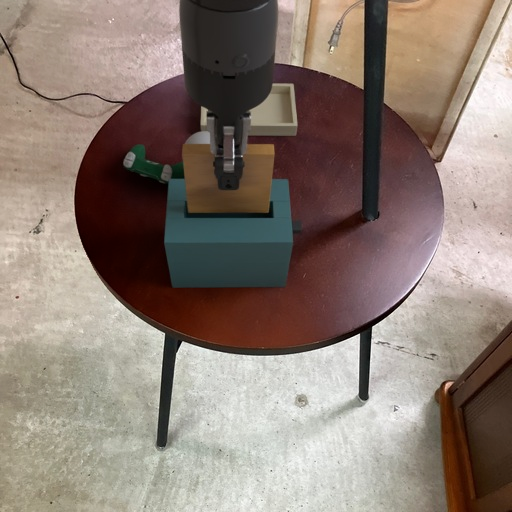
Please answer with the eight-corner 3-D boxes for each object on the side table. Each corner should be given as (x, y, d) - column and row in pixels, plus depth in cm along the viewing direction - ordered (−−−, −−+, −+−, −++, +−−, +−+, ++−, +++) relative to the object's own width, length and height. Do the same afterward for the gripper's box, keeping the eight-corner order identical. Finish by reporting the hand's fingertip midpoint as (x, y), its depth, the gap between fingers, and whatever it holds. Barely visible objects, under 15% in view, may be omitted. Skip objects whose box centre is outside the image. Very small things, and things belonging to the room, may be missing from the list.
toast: (188, 213, 61) (182, 153, 53) (188, 203, 62) (182, 143, 54) (268, 212, 62) (274, 154, 54) (267, 203, 63) (273, 143, 55)
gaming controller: (133, 168, 80) (112, 169, 74) (139, 142, 79) (119, 142, 74) (190, 188, 79) (174, 190, 73) (197, 162, 78) (181, 163, 72)
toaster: (172, 287, 68) (164, 242, 59) (175, 228, 73) (168, 178, 64) (298, 287, 69) (307, 242, 60) (293, 228, 73) (301, 179, 65)
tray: (201, 135, 82) (200, 125, 80) (202, 93, 87) (202, 82, 85) (296, 136, 83) (297, 125, 81) (292, 94, 87) (293, 83, 86)
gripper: (184, -13, 47) (194, 134, 62) (176, 96, 40) (190, 234, 54) (272, -11, 47) (261, 135, 62) (280, 97, 40) (266, 234, 55)
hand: (228, 181), depth 58 cm, fingers closed on toast, 1 cm apart
